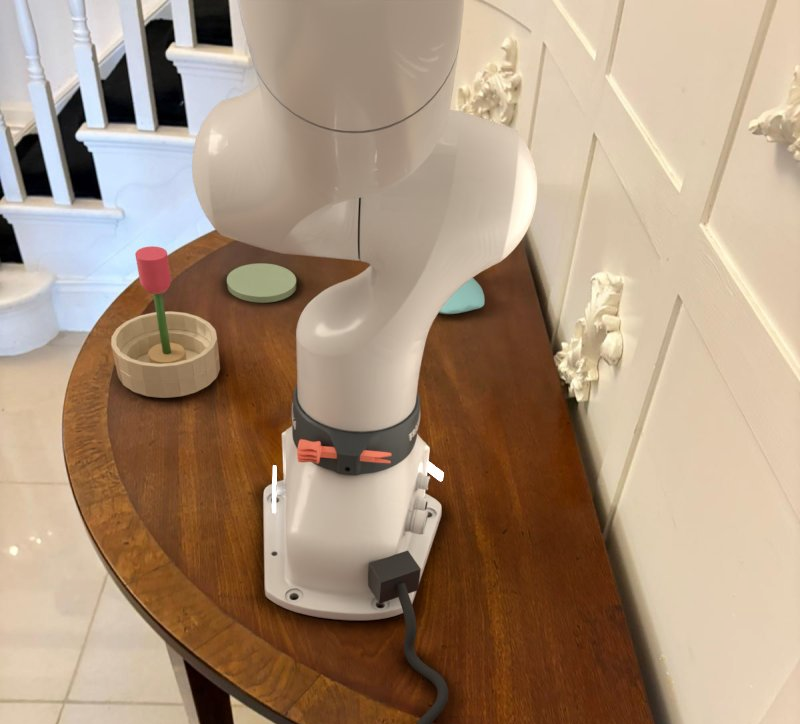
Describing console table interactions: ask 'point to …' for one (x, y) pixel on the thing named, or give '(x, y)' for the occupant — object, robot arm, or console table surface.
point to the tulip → (158, 300)
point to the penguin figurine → (465, 299)
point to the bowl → (167, 377)
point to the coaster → (261, 283)
